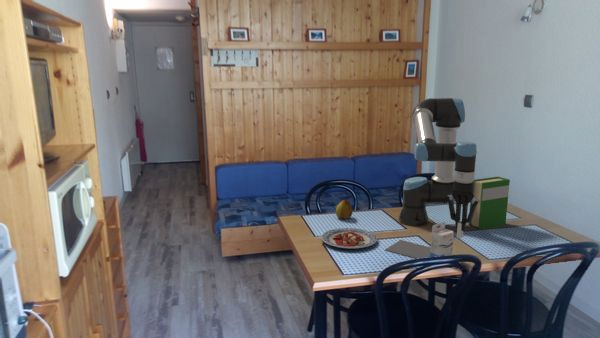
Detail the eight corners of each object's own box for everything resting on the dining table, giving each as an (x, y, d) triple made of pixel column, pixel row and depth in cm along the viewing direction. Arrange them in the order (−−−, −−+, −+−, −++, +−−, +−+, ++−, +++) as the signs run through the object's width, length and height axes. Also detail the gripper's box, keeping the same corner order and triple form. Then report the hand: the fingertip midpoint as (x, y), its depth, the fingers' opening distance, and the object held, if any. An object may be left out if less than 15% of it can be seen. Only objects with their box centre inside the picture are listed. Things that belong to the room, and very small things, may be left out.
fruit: (336, 215, 243) (336, 194, 240) (352, 215, 241) (352, 194, 239) (335, 220, 234) (335, 198, 232) (352, 220, 233) (352, 199, 231)
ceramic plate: (312, 236, 211) (312, 230, 210) (358, 229, 221) (358, 223, 220) (337, 256, 188) (337, 249, 187) (388, 247, 198) (388, 240, 197)
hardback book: (479, 229, 218) (483, 183, 213) (468, 225, 225) (471, 179, 220) (505, 224, 225) (509, 179, 220) (493, 220, 232) (497, 176, 227)
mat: (384, 250, 193) (384, 249, 193) (400, 240, 205) (400, 239, 204) (425, 261, 181) (425, 260, 181) (440, 250, 193) (440, 249, 193)
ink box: (439, 262, 180) (441, 228, 177) (429, 258, 185) (431, 225, 182) (452, 257, 185) (454, 224, 182) (442, 253, 189) (444, 221, 186)
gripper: (444, 180, 175) (440, 236, 179) (477, 185, 166) (472, 243, 171) (451, 177, 180) (447, 231, 185) (483, 181, 172) (479, 238, 177)
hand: (459, 237), depth 178 cm, fingers closed
